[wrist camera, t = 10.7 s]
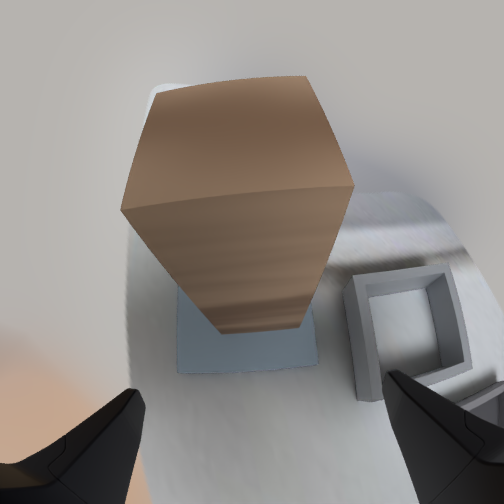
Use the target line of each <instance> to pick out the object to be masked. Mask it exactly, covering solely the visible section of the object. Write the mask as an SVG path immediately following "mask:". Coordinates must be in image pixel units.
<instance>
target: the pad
mask: <svg viewBox="0 0 504 504" xmlns="http://www.w3.org/2000/svg"><path fill="white" fill-rule="evenodd" d="M317 364H319V362H318V353H317V344H316V336H315V328H314V321H313V313H312V306H311V302H310V305H309V307H308V309H307V312H306V314H305V316H304V318H303V321H302V323H301V325H300V327H299V328H294V329H284V330H274V331H264V332H252V333H239V334H223V335H221V333H220V332H219V331H218V330H217V329H216V328H215V327H214V326H213V325H212V323H211V322H210V321H209V320H208V319H207V318H206V317H205V316H204V314H203V313H202V312H201V311H200V310H199V309H198V308H197V306H196V305H195V304H194V303H193V302H192V301H191V299H190V298H189V297H188V296H187V295H186V294H185V292H184V291H183V290H182V289H181V288H180V286H179V285H178V306H177V372H178V373H234V372H252V371H266V370H277V369H287V368H296V367H305V366H313V365H317Z"/></svg>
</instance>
